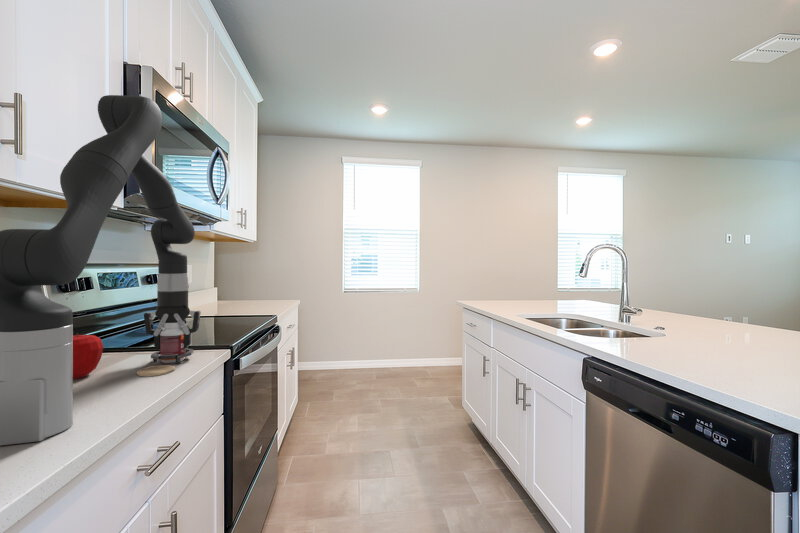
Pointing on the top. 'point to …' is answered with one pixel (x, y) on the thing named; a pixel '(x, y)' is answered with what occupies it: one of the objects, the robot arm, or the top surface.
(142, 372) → the cork coaster
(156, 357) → the ring stand
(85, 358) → the apple
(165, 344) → the pill bottle
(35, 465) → the top surface
